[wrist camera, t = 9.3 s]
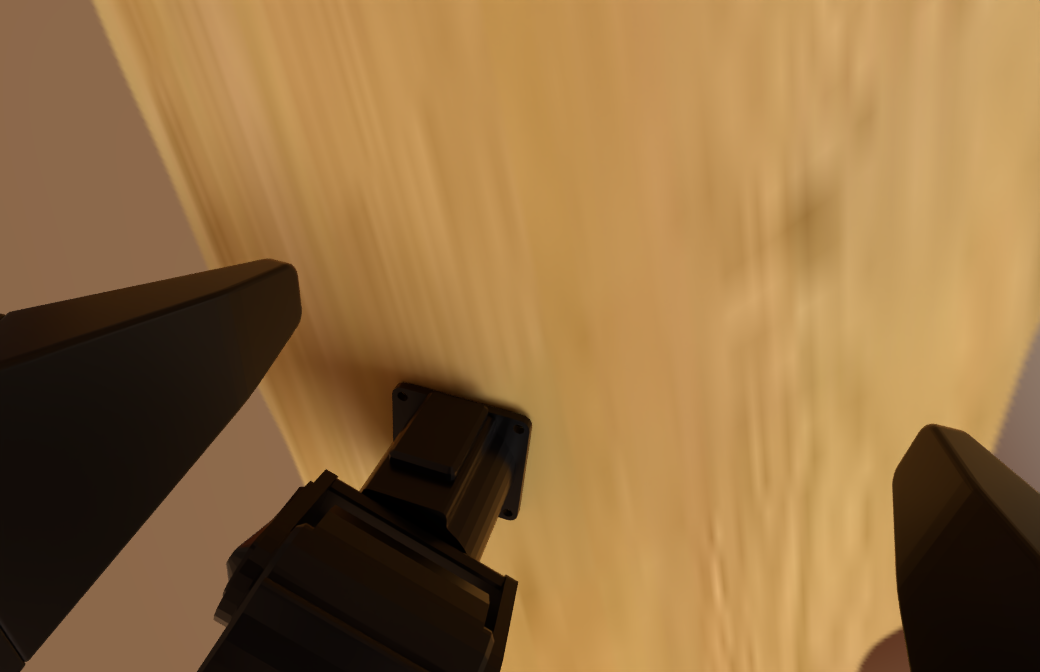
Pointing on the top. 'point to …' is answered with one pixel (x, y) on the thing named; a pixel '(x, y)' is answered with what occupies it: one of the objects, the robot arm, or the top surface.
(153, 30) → the top surface
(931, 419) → the top surface
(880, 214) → the top surface
